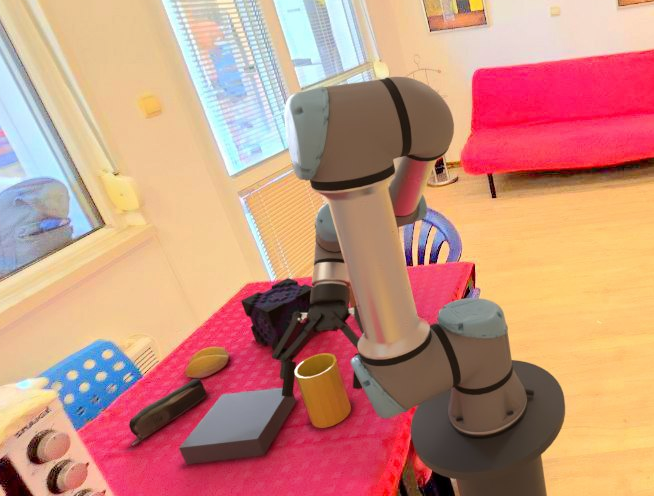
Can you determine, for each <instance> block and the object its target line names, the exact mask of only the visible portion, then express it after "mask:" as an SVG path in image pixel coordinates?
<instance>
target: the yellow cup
mask: <svg viewBox="0 0 654 496" xmlns="http://www.w3.org/2000/svg"><path fill="white" fill-rule="evenodd" d="M295 380H296V382H297V385H298V388H299V391H300V394H301V397H302V400H303V403H304V406H305V409H306V411H307V414H308V417H309V420H310V422H311V425H312V426H314V428H319V429H325V428H330V427H333V426H335V425H337V424H339V423H341V422H342V421H343V420H345V419H346V418H347V417H348V416H349V415H350V413H351V410H352V405H351V402H350V398H349V395H348V392H347V388H346V384H345V382H344V378H343V374H342V371H341V369H340V365H339V362H338V359H337V356H336V355H334V353H328V352H324V353H323V352H322V353H317V354H315V355H311V356H309V357H307V358H305V359H303V360H302V361H301V362H300V363H299V364H297V365H296V369H295Z"/></svg>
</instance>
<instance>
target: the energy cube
mask: <svg viewBox="0 0 654 496" xmlns="http://www.w3.org/2000/svg"><path fill="white" fill-rule="evenodd" d="M313 287H314V286H311V285H308V284H302V285H300V284H299V282H298V281H297V280H295V279H292V278H289V277H287V278H285V279H284V280H283V279H282V280H281V281H279V282H276V283H275V284H273V285H271V288H270V289H268V290H266V291H264V292H260V291H258V292H256V293H254V294H252V295H250V296H247V297H245V298H243V299H241V300H240V302H241V305H242V307H243V310H244V313H245V316H246V317H248V318H250V320H251V321H250V322H251V323H252V325H251V326H250V329H251V332H252V335H253V337H254V341H255V342H256V343H258V344H260V345H262V346H264V347H267V346H271V349H272V351H273V352H274V351H275V349H276V347H277V346H278V344H279V342H280V340H281V339H282V337H283V335H284V334H285V332H286V330H287V328H288V327H289V325H290V323H291V321H292V316H293V313H294V312H295V311H297V312H300V313H308V312H309V310H310V296H311V289H312V288H313ZM308 324H309V320H308V319H306V322H305V323H303V325H302V327H301V329H300V331H299V333H298V334H297V336H296V338H295V339H294V341H295V340H296V339H297V338H298V337H299V336H300V335H301V333H302V332H303V331H304V328H305V327H306V326H307V325H308ZM320 333H321V332H318V333H317V334H316V335H318V334H320ZM316 335H315V336H316ZM294 341H293V343H294ZM293 343H292V344H293Z"/></svg>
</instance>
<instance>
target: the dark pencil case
mask: <svg viewBox="0 0 654 496" xmlns="http://www.w3.org/2000/svg"><path fill="white" fill-rule="evenodd" d="M207 395H208V394H207V391H206V388H205V386H204V383H203V382H202V380H201V378H192V380H190V381H188V382H187V383H185V384H183V385H182V386H180V387H178V388H176V389H175V390H173V391H171V392H170V393H168V394H167V395H165V396H163V397H162V398H159V399H158V400H155V401H154V402H152V403H150V404H148V405H147V406H145V407H143V408H142V409H141V410H140V411H139V412H138V413H137V414H135V415H134V416H133V417H132V418H130V420H129V423H128V426H129V429H130V431H131V433H132V434H133V435H134V436H135V437H136V439H135V440H134V441H132V442H131V443H130V446H131V447H134V446H136V445H137V444H139V443H140V442H141V441H143V440H144V439H146V438H147V437H148V436H150V435H152V434H153V433H155V432H156V431H158V430H160V429H161V428H162V427H164V426H166V425H168V424H169V423H170V422H172V421H173V420H175V419H176V418H178V417H180V416H181V415H183V414H185V413H186V412H187V411H189V410H191V409H192V408H194V407H195V406H197V405H198V404H200V403H201V402H203V400H205V399H206V397H207Z"/></svg>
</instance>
